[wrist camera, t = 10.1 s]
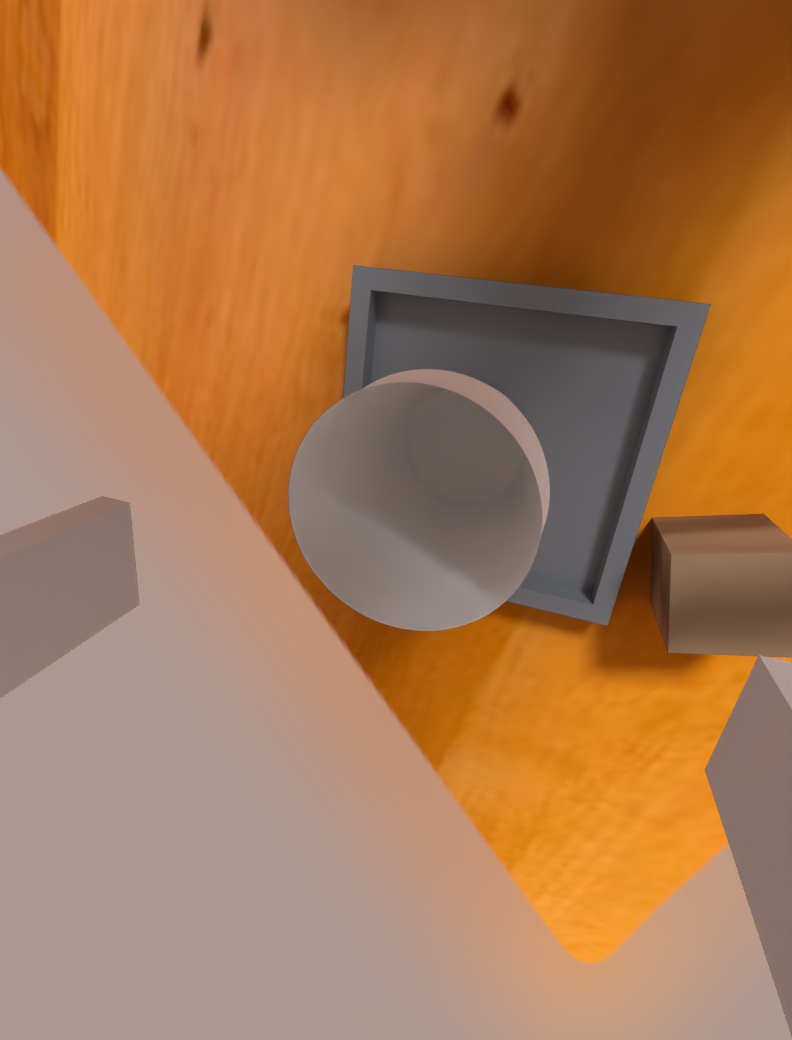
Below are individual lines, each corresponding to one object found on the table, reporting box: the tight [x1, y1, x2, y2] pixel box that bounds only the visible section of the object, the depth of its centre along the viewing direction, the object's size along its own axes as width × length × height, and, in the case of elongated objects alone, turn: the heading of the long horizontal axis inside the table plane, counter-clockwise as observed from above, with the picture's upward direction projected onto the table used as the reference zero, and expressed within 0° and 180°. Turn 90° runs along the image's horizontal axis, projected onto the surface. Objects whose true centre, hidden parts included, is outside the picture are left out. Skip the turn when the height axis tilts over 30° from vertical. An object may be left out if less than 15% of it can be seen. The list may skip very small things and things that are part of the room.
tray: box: [343, 265, 711, 626], centre depth 27 cm, size 16×16×2 cm
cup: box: [288, 369, 550, 631], centre depth 22 cm, size 9×9×12 cm
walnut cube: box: [651, 514, 792, 658], centre depth 25 cm, size 5×5×5 cm
